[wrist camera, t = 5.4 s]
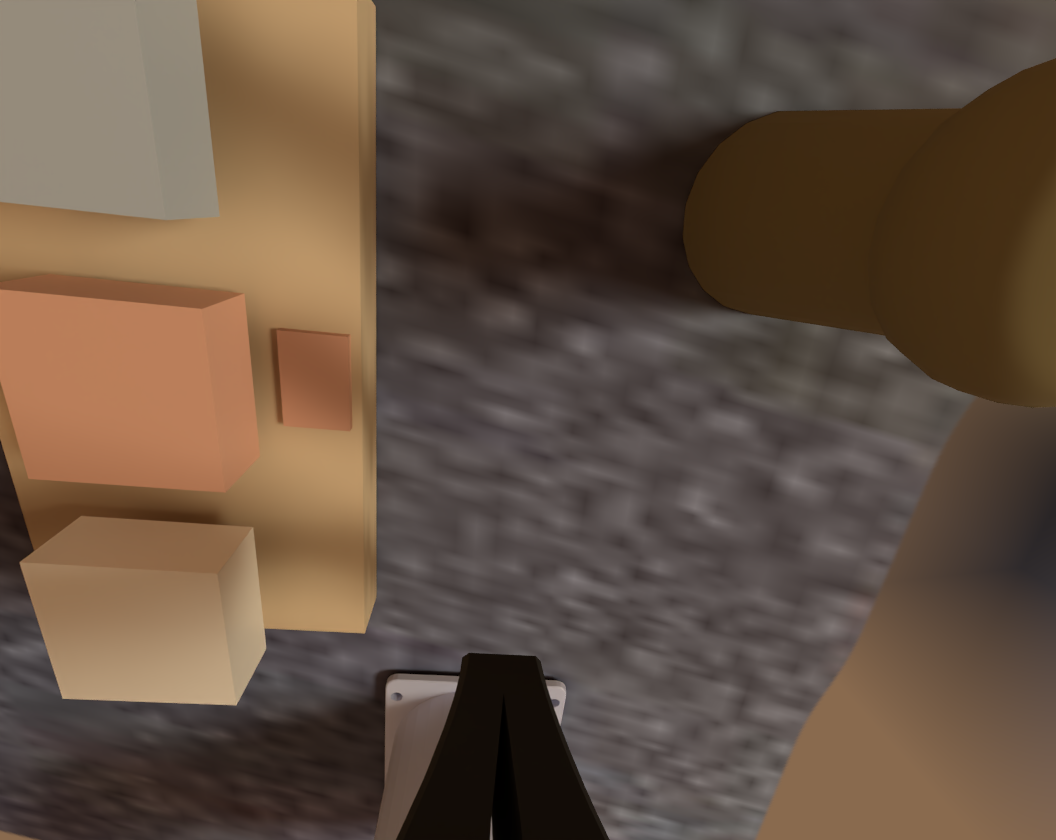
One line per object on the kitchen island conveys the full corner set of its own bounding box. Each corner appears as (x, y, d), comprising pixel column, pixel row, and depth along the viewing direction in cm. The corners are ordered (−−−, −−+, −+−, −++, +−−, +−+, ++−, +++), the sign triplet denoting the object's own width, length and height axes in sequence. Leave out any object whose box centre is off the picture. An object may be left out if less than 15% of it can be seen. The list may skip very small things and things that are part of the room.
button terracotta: (260, 456, 16) (225, 492, 14) (89, 443, 16) (28, 479, 14) (244, 293, 14) (202, 309, 12) (49, 273, 14) (-27, 286, 12)
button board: (376, 596, 22) (355, 661, 19) (93, 580, 21) (24, 646, 18) (375, 6, 14) (340, -46, 11) (-71, -58, 13) (-242, -135, 10)
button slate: (219, 216, 13) (166, 220, 11) (-2, 191, 12) (-99, 191, 10) (192, -41, 11) (121, -95, 9) (-70, -79, 10) (-207, -146, 8)
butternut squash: (909, 216, 17) (1524, 244, 7) (756, 350, 18) (1069, 538, 8) (802, 59, 15) (1422, -231, 5) (643, 222, 17) (865, 258, 6)
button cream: (266, 648, 18) (236, 705, 16) (113, 641, 18) (62, 698, 16) (252, 527, 16) (217, 573, 14) (81, 515, 16) (19, 562, 14)
